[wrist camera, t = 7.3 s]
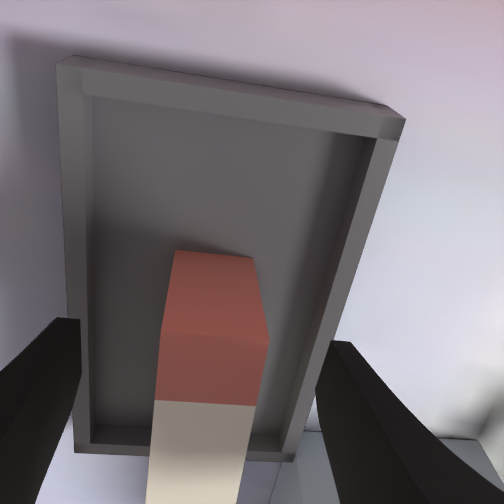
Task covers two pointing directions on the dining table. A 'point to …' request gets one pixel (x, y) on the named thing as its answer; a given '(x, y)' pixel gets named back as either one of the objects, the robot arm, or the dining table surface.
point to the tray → (208, 228)
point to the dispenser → (321, 478)
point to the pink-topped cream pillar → (206, 379)
